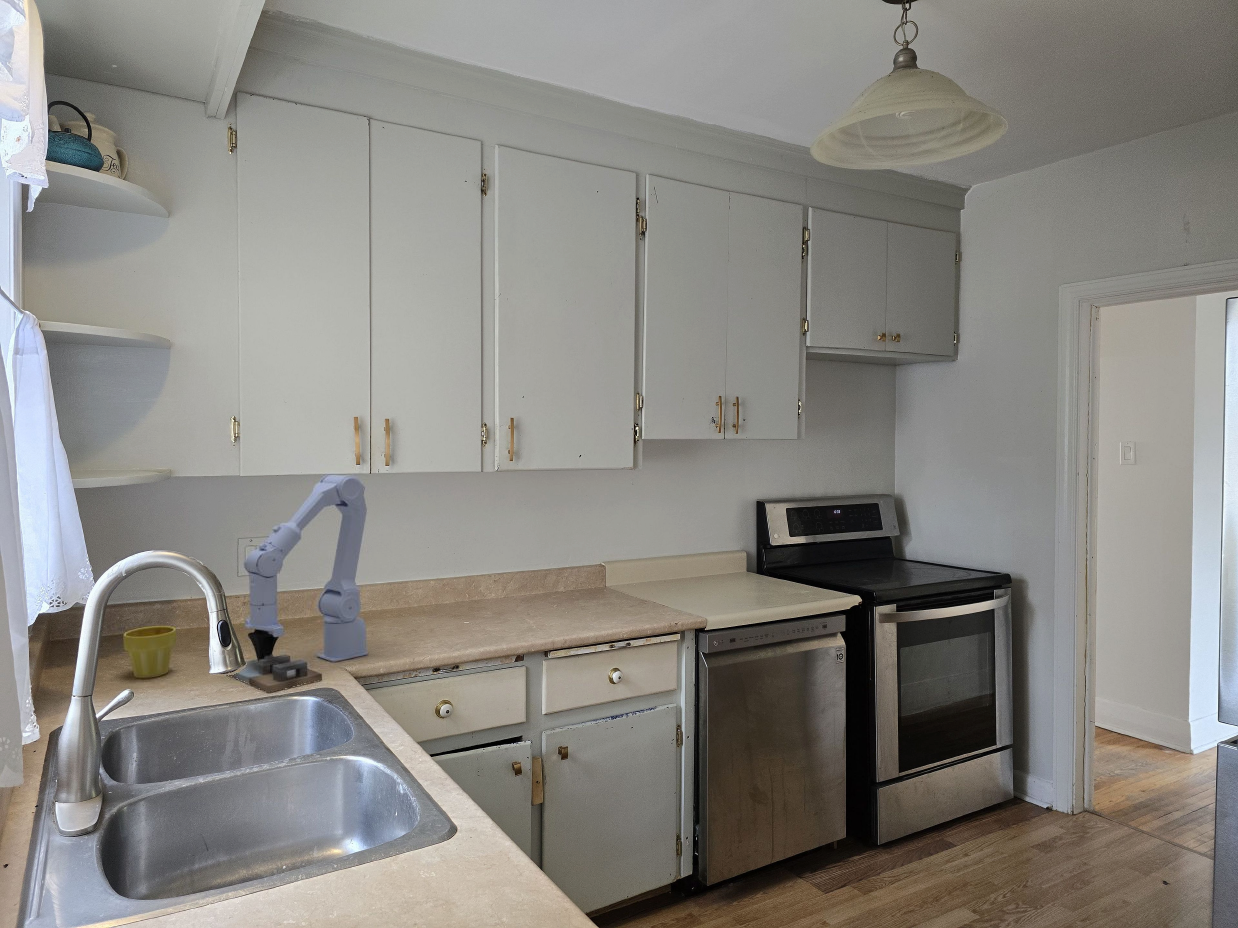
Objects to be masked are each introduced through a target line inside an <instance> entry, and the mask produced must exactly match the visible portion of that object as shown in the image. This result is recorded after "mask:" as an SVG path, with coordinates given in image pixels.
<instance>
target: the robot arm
mask: <svg viewBox="0 0 1238 928" xmlns="http://www.w3.org/2000/svg"><path fill="white" fill-rule="evenodd" d="M365 490H366V486H365V485H364V484H363V483H362V482H361V480H360V479H359V478H358V477H357V476H355V475H349V474H348V475H341V474H332V473H331V474H326V475H324V476H323V477H321V479H320V480H319V482H317V483H315V485H314V487H313V490H312V492H311V493H310V495H309V496H308V497H307V499H305V501H304V502H303V503H302V505H301V506H300V507H299V508H298V510H297V511H296V512H295V514H294V515H293V516H292V518H291V519H290V520H289V521H288V522H282V523H280V524H279V525H275V526H274V527H273V528H272V533H271V534H270V535H269V536H268V537H267V538H266V539H265V541H264V542H261V543H260V544H259V545H258V548H257V549H254V550H252V551H251V552H249V553H248V554H247V556H246V560H245V562H243V568H244V569H245V571H246V572H247V573H248V579H249V585H248V586H249V617H247V618H244V629H247V630H251V629H252V630H253V631H252V632H248V633H247V637H248V639H250V641H251V643H252V646H253V648H254V652H255V656H256V659H257V660H258V663H259V660H261V659H264V656H265V655H268V654H273V652H274V649H275V645H276V643H277V641H278V640H279V638H280V637H283V636H285V633H284V632H285V629H284V626H282V625H281V623H280V621H278V613H279V611H278V574H279V572H281V571H282V568H283V564H284V560H285V559H286V557H287V556H288V555H289V553H291V552H292V550H293V549H294V548H295V546H296V545H298V543H299V542H300V541H301V539H302V531H303V530H304V528H306V527H307V526H308V524H310V522H311V521H312V520H313V519H315V517H316V516H317V515H318V514H319V513H320V512H321V511H322V510H323V509H324V508H326V507H331V506H334V507H336V508H337V510H338V512H339V513H341V516H342V517H341V522H340V528H339V533H338V539H337V545H336V550H335V551H336V552H335V556H334V561H333V566H332V567H333V568H332V571H331V572H332V573H331V578H330V579H329V581H327V582H326V583H325V584H324V587H323V589H322V590H323V591H322V593H321V594H320V596H319V598H318V601H317V609H318V611H319V613H320V614H321V615H322V619H323V652H322V653H321V652H320V653H317V654H316V657H318V658H320V659H323V660H327V661H330V662H333V663H334V662H340V661H344V660H348V659H354V658H358V657H362V656H367V655H369V652H368V651H367V626H366V623H365V621H364V619H363V618H362V617H360V616H359V614H360V612H361V609H362V604H361V599H360V595H361V590H360V588H359V586H358V585H357V583H356V576H357V570H358V564H359V559H360V554H361V549H362V540H363V534H364V530H365V523H366V517H367V511H368V508H367V503H366V499H365V496H364V495H365Z"/></svg>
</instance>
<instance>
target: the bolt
mask: <svg viewBox="0 0 1238 928" xmlns="http://www.w3.org/2000/svg"><path fill="white" fill-rule="evenodd" d="M273 656H274V654H273V653H272V654H268V655H265V656H264V659H266V658H271V657H273ZM277 664H282V663H276V664H271V665H270V673H273V665H277ZM295 676H296V669H295V670H290V671H287V678H291V677H295Z"/></svg>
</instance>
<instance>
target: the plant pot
mask: <svg viewBox="0 0 1238 928" xmlns="http://www.w3.org/2000/svg"><path fill="white" fill-rule="evenodd" d="M122 637H123V649H124V650H125V651H127V654H128V657H129V661H130V665H131V668H132V672H133V675H134V678H137V679H138V678H139V679H150V678H156V677H157V678H158V677H160V676H161V677H162V676H163V675H166V674H168V672H169V669H170V665H171V659H172V654H173V648H174V645H176V643H177V628H176V627H174V626H169V625H156V626H155V625H154V626H145V627H140V628H135V629H131V630H128V631H126V632H124V634H123V635H122Z"/></svg>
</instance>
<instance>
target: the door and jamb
mask: <svg viewBox="0 0 1238 928" xmlns="http://www.w3.org/2000/svg"><path fill="white" fill-rule="evenodd" d="M245 662H247V665H246V667H245V668H244V669H242V670H241V671H240V672H238V673H236V674H234V675H229V677H230V676H232V677H231V678H233V679H235V678H238V679H239V680H242V681H245V682H247V683H249V684H250V685H249V684H248V685H249V686H251V685H253V686H255V687H257V688H256V689H258V688H260V689H262V690H264V691H263V692H265V691H266V692H265V693H267V692H268V693H267V694H271V693H270V692H272V693H275V692H274V691H276V692H278V691H277V690H280V691H283V690H282V689H284V690H286V689H285V688H289V689H291V688H290V687H293V686H297V685H301V684H304V683H309V682H314V681H318V680H322V681H323V673H320V672H318V671H315V670H313V669H310V668H309V667H308V662H307V661H306V660H302V659H297V660H292V661H291V655H289V654H281V655H276V656H275V655H273V657H271V658H266V659H261V660H259V663H258V660H257V658H256V659H253V660H247V661H245ZM276 663H282V664H277V665H273V673H270V665H271V664H276ZM295 669H296V676H295V677H291V678H287V671H290V670H295ZM239 680H238V681H239ZM242 681H241V682H242ZM318 682H319V681H318ZM314 683H315V682H314ZM253 686H252V687H253ZM301 686H302V685H301ZM255 687H254V688H255ZM297 687H298V686H297ZM293 688H294V687H293ZM260 689H259V690H260ZM262 690H261V691H262Z"/></svg>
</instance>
